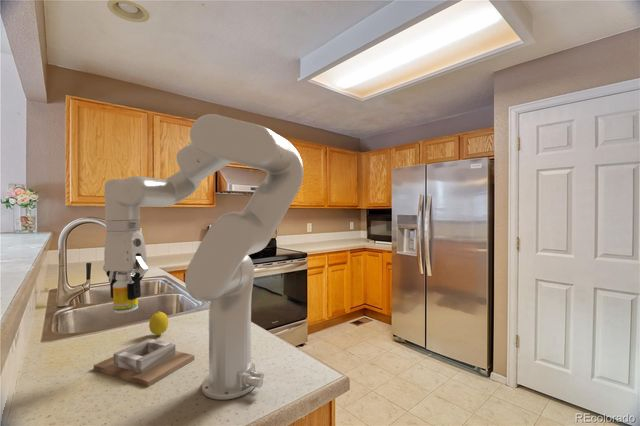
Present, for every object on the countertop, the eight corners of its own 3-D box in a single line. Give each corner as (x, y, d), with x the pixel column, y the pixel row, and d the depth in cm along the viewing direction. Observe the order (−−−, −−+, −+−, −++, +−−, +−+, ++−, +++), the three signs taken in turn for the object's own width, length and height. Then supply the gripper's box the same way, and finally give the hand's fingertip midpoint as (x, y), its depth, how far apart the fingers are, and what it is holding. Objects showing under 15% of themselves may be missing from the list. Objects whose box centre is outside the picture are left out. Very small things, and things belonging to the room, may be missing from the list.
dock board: (194, 359, 85) (194, 344, 85) (148, 386, 72) (148, 368, 72) (143, 347, 92) (143, 333, 92) (93, 369, 79) (93, 353, 79)
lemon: (160, 339, 97) (160, 314, 97) (145, 338, 99) (145, 313, 99) (172, 333, 103) (171, 309, 103) (157, 331, 104) (157, 308, 104)
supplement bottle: (118, 308, 82) (117, 272, 82) (141, 306, 83) (139, 270, 83) (110, 314, 76) (108, 276, 76) (134, 312, 78) (132, 274, 78)
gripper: (160, 226, 80) (162, 295, 80) (114, 227, 86) (116, 291, 86) (133, 227, 73) (136, 304, 73) (86, 228, 79) (88, 299, 79)
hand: (125, 296), depth 80 cm, fingers closed on supplement bottle, 5 cm apart
